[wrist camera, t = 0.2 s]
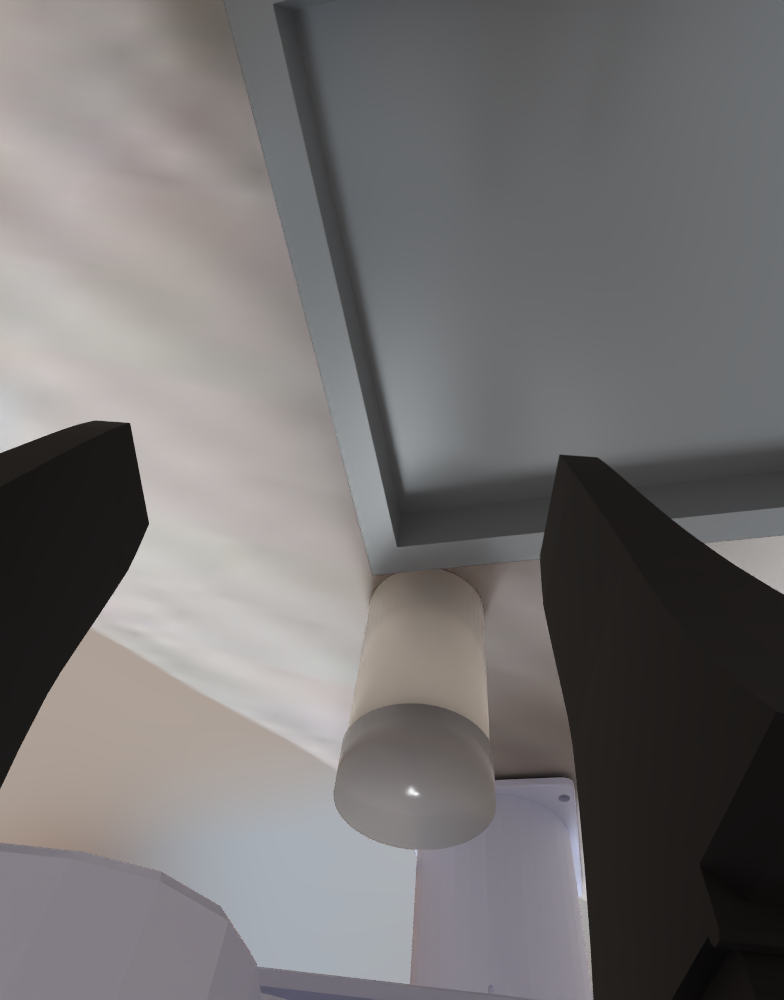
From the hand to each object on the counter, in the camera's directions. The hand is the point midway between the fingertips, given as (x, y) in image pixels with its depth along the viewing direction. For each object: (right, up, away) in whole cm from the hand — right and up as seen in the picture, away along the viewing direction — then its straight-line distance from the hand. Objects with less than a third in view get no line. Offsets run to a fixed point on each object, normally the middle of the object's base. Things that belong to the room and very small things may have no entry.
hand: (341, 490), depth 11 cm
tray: (+7, +6, +7) cm, 12 cm away
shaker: (+2, -5, +14) cm, 15 cm away
